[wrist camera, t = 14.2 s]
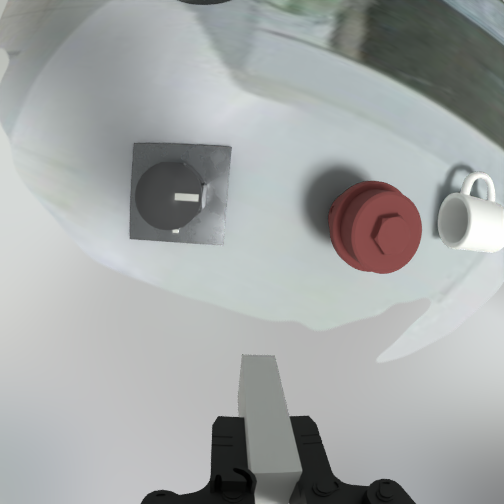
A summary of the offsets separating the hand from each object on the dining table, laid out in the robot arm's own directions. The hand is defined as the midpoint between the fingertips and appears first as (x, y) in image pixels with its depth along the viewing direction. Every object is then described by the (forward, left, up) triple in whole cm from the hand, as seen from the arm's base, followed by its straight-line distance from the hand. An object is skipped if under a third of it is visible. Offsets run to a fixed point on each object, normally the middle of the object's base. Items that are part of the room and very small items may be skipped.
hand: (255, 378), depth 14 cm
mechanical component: (-5, +14, -27) cm, 30 cm away
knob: (-6, -8, -25) cm, 27 cm away
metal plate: (-6, -8, -26) cm, 28 cm away
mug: (-9, +34, -27) cm, 44 cm away
